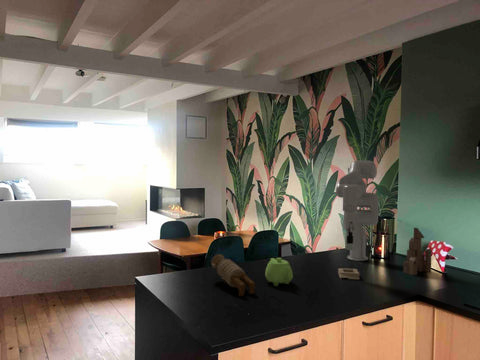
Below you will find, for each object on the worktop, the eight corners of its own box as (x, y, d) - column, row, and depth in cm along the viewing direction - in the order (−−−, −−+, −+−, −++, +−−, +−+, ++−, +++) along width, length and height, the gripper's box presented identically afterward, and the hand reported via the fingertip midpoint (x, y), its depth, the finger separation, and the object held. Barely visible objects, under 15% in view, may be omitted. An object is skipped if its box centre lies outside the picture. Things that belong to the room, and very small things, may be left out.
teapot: (300, 287, 194) (300, 261, 193) (275, 290, 189) (275, 264, 189) (282, 276, 213) (282, 253, 212) (259, 278, 208) (259, 254, 208)
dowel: (344, 248, 215) (345, 226, 215) (352, 248, 215) (352, 226, 214) (345, 249, 211) (346, 227, 211) (353, 250, 211) (354, 227, 210)
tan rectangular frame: (338, 273, 219) (338, 268, 219) (356, 274, 218) (356, 268, 218) (340, 278, 209) (340, 272, 209) (359, 279, 208) (359, 273, 208)
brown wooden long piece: (255, 300, 185) (224, 273, 210) (258, 276, 182) (227, 251, 207) (236, 304, 180) (207, 275, 205) (239, 279, 177) (210, 253, 202)
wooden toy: (413, 275, 216) (414, 230, 215) (403, 272, 222) (404, 228, 221) (432, 272, 223) (433, 228, 222) (422, 269, 229) (423, 226, 228)
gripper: (340, 206, 221) (339, 239, 221) (345, 210, 204) (344, 245, 205) (354, 207, 220) (353, 239, 221) (360, 210, 203) (359, 245, 204)
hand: (349, 242), depth 213 cm, fingers closed on dowel, 4 cm apart
